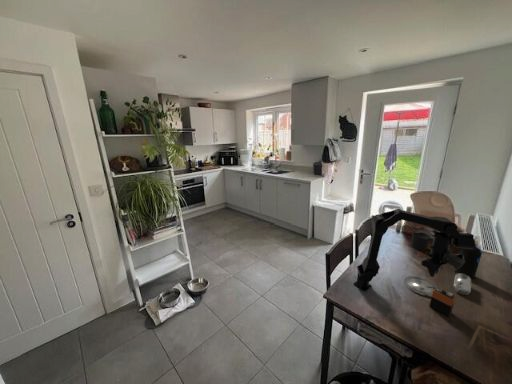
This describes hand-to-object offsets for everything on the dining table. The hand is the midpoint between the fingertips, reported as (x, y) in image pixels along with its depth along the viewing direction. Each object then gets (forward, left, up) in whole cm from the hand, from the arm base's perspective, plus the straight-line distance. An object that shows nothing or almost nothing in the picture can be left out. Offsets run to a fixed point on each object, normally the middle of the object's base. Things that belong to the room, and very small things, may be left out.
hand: (433, 274), depth 96 cm
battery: (-5, -6, -13) cm, 15 cm away
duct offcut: (+20, -7, -12) cm, 24 cm away
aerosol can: (+36, -5, -13) cm, 38 cm away
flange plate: (+5, +5, -12) cm, 14 cm away
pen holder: (+49, +21, -13) cm, 54 cm away
